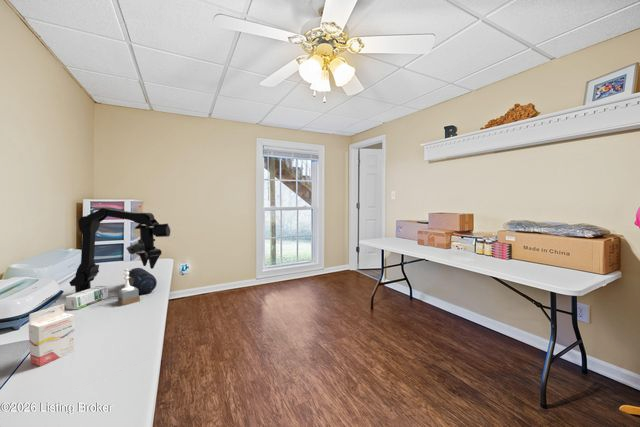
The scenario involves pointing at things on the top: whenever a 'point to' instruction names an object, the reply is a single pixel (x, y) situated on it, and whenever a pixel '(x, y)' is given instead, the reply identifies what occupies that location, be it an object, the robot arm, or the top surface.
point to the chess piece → (127, 282)
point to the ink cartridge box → (51, 335)
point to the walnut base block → (128, 300)
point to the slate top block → (128, 293)
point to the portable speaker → (142, 280)
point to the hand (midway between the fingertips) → (148, 267)
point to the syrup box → (86, 297)
